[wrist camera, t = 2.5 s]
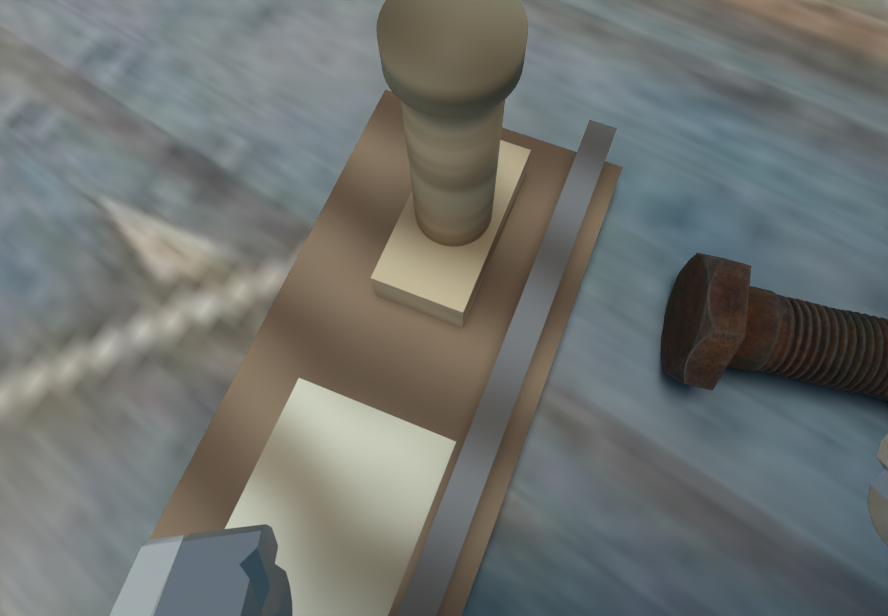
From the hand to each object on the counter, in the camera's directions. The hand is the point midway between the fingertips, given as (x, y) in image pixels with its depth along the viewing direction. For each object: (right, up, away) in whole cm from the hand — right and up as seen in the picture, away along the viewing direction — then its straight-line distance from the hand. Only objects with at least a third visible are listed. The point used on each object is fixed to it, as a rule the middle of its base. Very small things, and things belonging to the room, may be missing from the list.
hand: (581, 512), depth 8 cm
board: (-4, -1, +19) cm, 19 cm away
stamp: (-1, +6, +20) cm, 21 cm away
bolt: (+15, 0, +19) cm, 25 cm away
